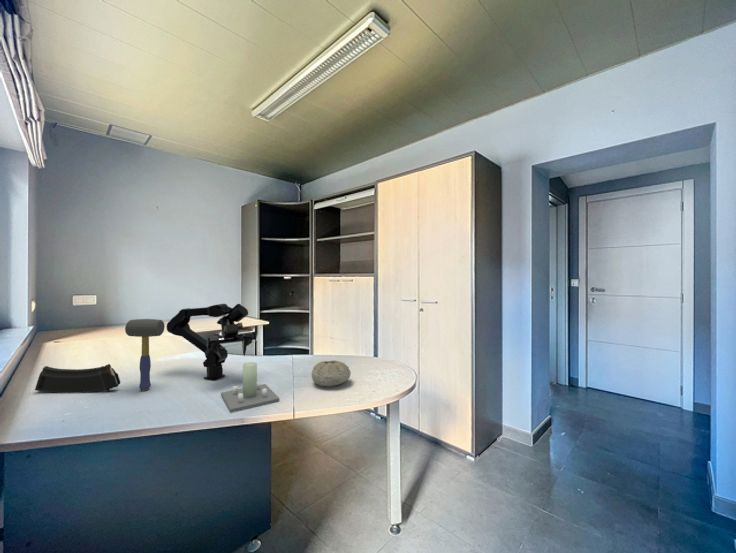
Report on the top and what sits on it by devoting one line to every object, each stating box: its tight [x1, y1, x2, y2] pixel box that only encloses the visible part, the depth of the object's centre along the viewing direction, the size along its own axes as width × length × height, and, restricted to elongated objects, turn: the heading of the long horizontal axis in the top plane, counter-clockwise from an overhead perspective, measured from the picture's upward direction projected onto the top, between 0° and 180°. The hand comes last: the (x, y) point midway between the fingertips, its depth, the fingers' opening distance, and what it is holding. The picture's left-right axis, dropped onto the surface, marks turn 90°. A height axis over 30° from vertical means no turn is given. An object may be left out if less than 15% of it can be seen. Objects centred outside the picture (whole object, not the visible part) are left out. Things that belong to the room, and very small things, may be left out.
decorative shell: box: [311, 360, 352, 387], centre depth 142 cm, size 18×18×10 cm
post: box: [242, 361, 258, 398], centre depth 124 cm, size 5×5×12 cm
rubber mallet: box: [124, 318, 165, 391], centre depth 130 cm, size 12×8×30 cm, turn 96°
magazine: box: [34, 363, 121, 394], centre depth 127 cm, size 17×3×30 cm
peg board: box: [220, 381, 280, 413], centre depth 124 cm, size 18×18×4 cm
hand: (233, 356), depth 134 cm, fingers open, 9 cm apart
